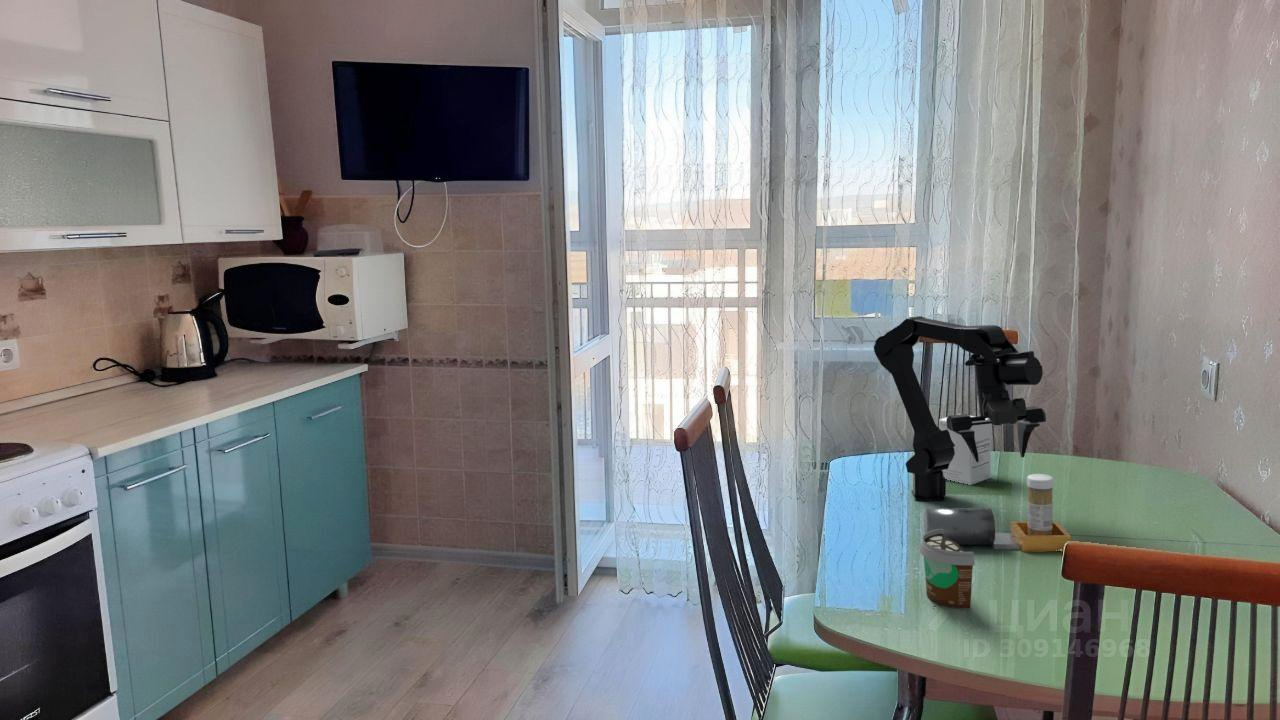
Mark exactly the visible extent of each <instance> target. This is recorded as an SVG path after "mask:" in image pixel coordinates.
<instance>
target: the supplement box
mask: <svg viewBox="0 0 1280 720" xmlns="http://www.w3.org/2000/svg"><path fill="white" fill-rule="evenodd" d="M959 414H960V413H957V414H956V415H959ZM969 416H970V417H976V416H977V415H976V416H975V415H969ZM947 418H948V416H946V417H943V418H940V419H938V428H939V429H940V430H942V431H943V430H948V431H949V433H950V437H951V440H952V442H953V443H954V444H955V446H954V447H953V448H954V451H955V455H954V457H953V460H952V461H951V462H950V464H949V467H948V469H945V470H942V471H943V476H944V477H945V479H947V480H946V481H950V480H951V481H950V482H954V481H955V483H958V482H959V483H960V484H963V483H964V484H963V485H967V484H968V486H972V485H975V484H977V483H981V482H983V481H985V480H989V479H991V464H992V462H991V460H992V458H991V456H992V455H991V452H992V451H991V449H992V448H991V446H992V439H991V437H992V424H982V425H973V426H972V427H971V430H973V431H974V432H975V435H974V438H975V443H976V447H977V452H978V459H979V462H976V461H975V459H974V457H973V455H972V453H971V451H970V449H969V447H968V445H967V444H966V442H965V440H964V439H963V437H962V436H961V435H959V434H957V433H956V432H954V431H951V430H949V429H948V428H947ZM987 419H988V418H985V420H987Z"/></svg>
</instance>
